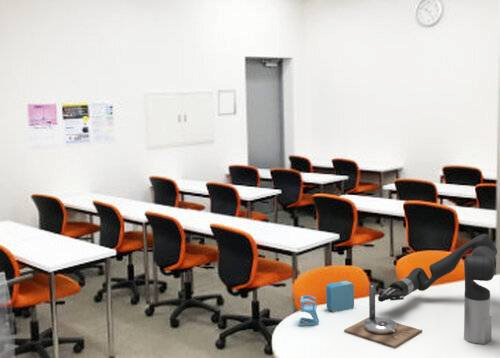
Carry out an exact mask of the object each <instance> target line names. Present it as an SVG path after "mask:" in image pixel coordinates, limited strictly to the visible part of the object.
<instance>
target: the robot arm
mask: <svg viewBox="0 0 500 358" xmlns="http://www.w3.org/2000/svg"><path fill="white" fill-rule="evenodd" d="M470 250H472V252H471V255H467V256H466V257H465V259H464V265H463V267H464V268H463V271H464V313H463V314H464V317H463V322H464V323H463V338H464V340H465V341H467V342H469V343H473V344H480V345H481V344H482V345H486V344H488V343H489V342H490V341H491V340H492V333H493V332H492V325H493V318H492V317H493V316H491V315H490V313H491V312H490V310H491V308H490V307H491V301H490V300H491V291H490V289H488V288H487V287H484V286H482V285H481V284H479V283H477V282H476V281H480V282H481V281H484V282H488V281H491V280H493V278H494V276H495V272H496V271H495V270H496V267H495V261H496V260H495V259H496V255H497V254H498V249H497V247H496V245H495V244H494V242H493V241H492V239H491V237H490V236H489V235H488V234H487V233H483V234H480V235H478V236H477V235H476V236H475V237H474V238H471V239H470V240H468V241H467V242H465V244H464V243H463V245H461V246H460V247H458V248H457V249H455V250H454V251H452V252H451V253H449V254H448V255H447V256H445V257H443V258H441V259H439V260H437V261H435V262H434V263H431V264H430V265H429V272H430V277H429V276H428V275H427V273H426V271H425V270H424V268H423V267H415V268H413V269H412V270H411V271H410V273H408V275H407V276H405V277H404V278H400V279H398V280H396V281H394V282H392V283H391V284H390V285H389V286H388V287H385V288H384V289H383V288H381V287H379V288H378V296H377V300H378V302H384V301H385V302H386V301H401V300H403V301H404V299H405V297H408V296H409V295H410V294H411V293H414V292H415V291H417V290H418V291H421V292H422V291H423V292H425V291H426V290H428V289H429V288H430V287H431V286H432V285H433V284H434V283H436V281H438V280H439V279H441V278H443V277H444V276H447V275H448V274H450V273H452V272H453V271H454V270H455V269H456V268H457V266H458V265H459V264H460V262H461V259H462V258H463V256H465V253H466V252H468V251H470Z"/></svg>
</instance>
